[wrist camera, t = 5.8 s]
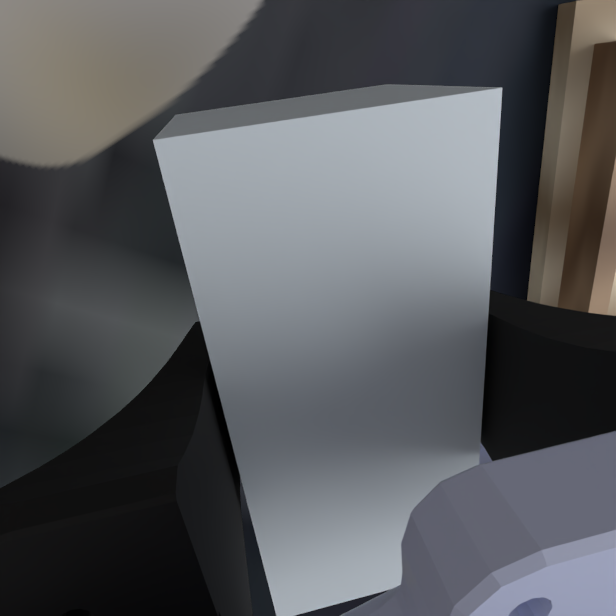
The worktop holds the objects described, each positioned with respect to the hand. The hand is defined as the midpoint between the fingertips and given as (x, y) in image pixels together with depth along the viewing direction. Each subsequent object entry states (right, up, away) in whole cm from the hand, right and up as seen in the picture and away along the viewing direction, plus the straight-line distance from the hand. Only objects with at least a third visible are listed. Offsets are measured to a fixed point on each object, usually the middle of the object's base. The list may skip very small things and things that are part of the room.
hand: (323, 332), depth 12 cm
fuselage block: (0, +1, +1) cm, 1 cm away
